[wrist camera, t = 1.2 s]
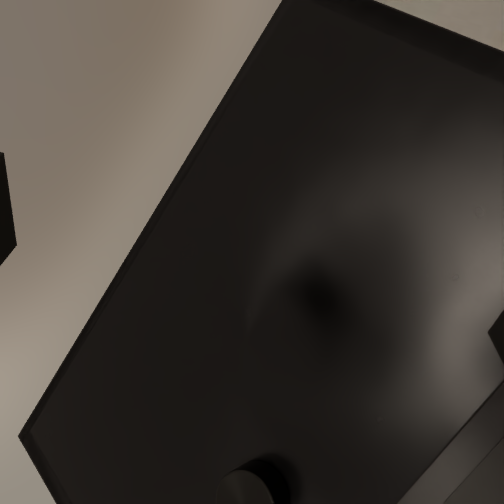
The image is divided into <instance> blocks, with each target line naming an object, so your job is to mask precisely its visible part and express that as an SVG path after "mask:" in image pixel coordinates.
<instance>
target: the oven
mask: <svg viewBox="0 0 504 504" xmlns="http://www.w3.org/2000/svg"><path fill="white" fill-rule="evenodd" d="M503 310H504V52H503V51H501V50H498V49H496V48H493V47H491V46H488V45H486V44H483V43H481V42H478V41H476V40H473V39H471V38H468V37H465V36H463V35H460V34H458V33H455V32H453V31H450V30H448V29H445V28H443V27H440V26H438V25H435V24H433V23H430V22H428V21H425V20H422V19H420V18H417V17H415V16H412V15H410V14H407V13H405V12H402V11H400V10H397V9H395V8H392V7H390V6H387V5H385V4H382V3H379V2H377V1H374V0H282V2H281V3H280V5H279V7H278V8H277V10H276V11H275V13H274V15H273V16H272V18H271V20H270V21H269V23H268V24H267V26H266V28H265V30H264V31H263V33H262V34H261V36H260V38H259V39H258V41H257V43H256V44H255V46H254V48H253V49H252V51H251V53H250V54H249V56H248V57H247V59H246V61H245V62H244V64H243V66H242V67H241V69H240V71H239V72H238V74H237V76H236V77H235V79H234V81H233V82H232V84H231V86H230V87H229V89H228V91H227V92H226V94H225V95H224V97H223V99H222V100H221V102H220V104H219V105H218V107H217V109H216V111H215V112H214V113H213V115H212V117H211V118H210V120H209V122H208V124H207V125H206V127H205V128H204V130H203V132H202V133H201V135H200V137H199V138H198V140H197V142H196V143H195V145H194V146H193V148H192V150H191V151H190V153H189V155H188V156H187V158H186V160H185V161H184V163H183V165H182V166H181V168H180V170H179V171H178V173H177V175H176V176H175V178H174V180H173V181H172V183H171V184H170V186H169V188H168V189H167V191H166V193H165V194H164V196H163V198H162V199H161V201H160V203H159V204H158V206H157V208H156V209H155V211H154V212H153V214H152V216H151V218H150V219H149V221H148V222H147V224H146V226H145V227H144V229H143V231H142V232H141V234H140V236H139V237H138V239H137V240H136V242H135V244H134V245H133V247H132V249H131V250H130V252H129V254H128V255H127V257H126V259H125V260H124V262H123V263H122V265H121V267H120V269H119V270H118V272H117V273H116V275H115V277H114V279H113V280H112V282H111V283H110V285H109V287H108V288H107V290H106V292H105V293H104V295H103V296H102V298H101V300H100V301H99V303H98V305H97V307H96V308H95V310H94V311H93V313H92V315H91V316H90V318H89V320H88V321H87V323H86V325H85V326H84V328H83V329H82V331H81V333H80V334H79V336H78V338H77V339H76V341H75V343H74V344H73V346H72V348H71V349H70V351H69V353H68V354H67V356H66V357H65V359H64V361H63V362H62V364H61V366H60V367H59V369H58V371H57V373H56V374H55V376H54V377H53V379H52V381H51V382H50V384H49V386H48V387H47V389H46V390H45V392H44V394H43V395H42V397H41V399H40V400H39V402H38V404H37V405H36V407H35V409H34V410H33V412H32V414H31V415H30V417H29V419H28V420H27V422H26V423H25V425H24V427H23V428H22V430H21V432H20V433H19V435H18V437H19V439H20V441H21V442H22V444H23V446H24V448H25V449H26V451H27V453H28V455H29V456H30V458H31V460H32V462H33V464H34V465H35V467H36V469H37V471H38V472H39V474H40V476H41V478H42V479H43V481H44V483H45V485H46V486H47V488H48V490H49V492H50V493H51V495H52V497H53V499H54V500H55V502H56V504H504V364H503V362H502V360H501V358H500V356H499V354H498V352H497V350H496V348H495V347H494V345H493V343H492V341H491V339H490V337H489V335H488V333H487V332H488V330H489V329H490V328H491V326H492V325H493V324H494V322H495V321H496V320H497V318H498V317H499V315H500V314H501V313H502V311H503Z"/></svg>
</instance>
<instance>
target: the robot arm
mask: <svg viewBox="0 0 504 504" xmlns="http://www.w3.org/2000/svg"><path fill="white" fill-rule="evenodd" d="M15 246H17V243H16V237H15V230H14V222H13V215H12V208H11V201H10V193H9V186H8V179H7V172H6V165H5V159H4V153H1V152H0V265H1V264H2V263H3V262H4V260H5V259H6V258H7V257H8V255H9V254H10V253H11V252H12V251H13V249H14V248H15ZM487 333H488V335H489V337H490V339H491V341H492V343H493V345H494V347H495V348H496V350H497V352H498V354H499V356H500V358H501V360H502V362H503V364H504V310H503V311H502V313H501V314H500V315H499V317H498V318H497V320H496V321H495V322H494V324H493V325H492V326H491V328H490V329H489V330H488V332H487Z"/></svg>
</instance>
